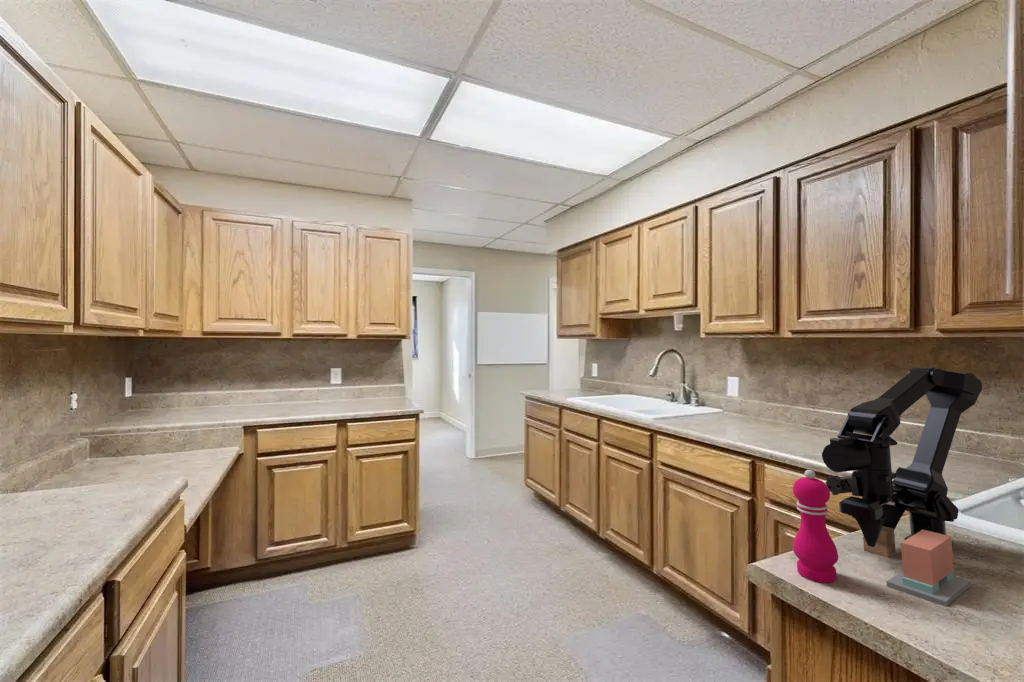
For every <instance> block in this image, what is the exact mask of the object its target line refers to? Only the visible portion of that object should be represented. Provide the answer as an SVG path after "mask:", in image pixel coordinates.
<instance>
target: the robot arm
mask: <svg viewBox="0 0 1024 682" xmlns="http://www.w3.org/2000/svg"><path fill="white" fill-rule="evenodd" d="M982 391H983V383H982V381H981V379H979V378H977V376H976V375H975V374H974V373H971V372H954V371H949V370H945V369H941V368H938V367H935V366H934V367H930V366H929V367H926V366H924V367H921V366H918V367H917V366H915V367H912V368H910V369H909V370H908V372H907V374H906V375H905V376H904V377H902V378H901V379H900V380H898V381H897V382H896V383H895V384H893V385H892V386H891V387H890V388H889V389H887V390H886V391H885V392H884V393H883V394H881V395H879V397H877V398H875V399H873V400H869V401H863V402H862V403H860V404H858V405H856V406H854V407H852V408H851V409H850V410H849V411H848V413H847V416H846V418H845V420H844V422H843V423H842V426H841V428H840V430H839V433H838V434H837V437H830V438H829V444H827V445H825V446H824V448H823V450H822V452H821V457H822V460H823V463H824V464H825V466H826V467H827V469H829V470H830V471H831V472H832V471H833V472H834V473H843V472H850V471H851V475H845V476H839V475H833V476H831V475H830V476H827V477H826V481H825V484H826V485H827V486H828V488H829V491H830V493H831V494H832V496H839V495H840V494H849V493H851V496H848V497H846V498H843V500H842V499H841V501H839V502H838V503H839V512H840V513H841V514H845V515H848V516H851V517H852V518H853V519H854V520H855V521H856V522H857V524H858V526H859V527H860V531H861V533H862V536H863V535H864V538H865V540H866V542H867V545H868V546H871V547H875V545H876V542H877V540H878V537H879V534H880V532H881V529H882V526H885V527H889V528H893V529H894V531H895V530H896V528H897V526H898V524H899V522H900V520H901V518H902V517H903V515H904V513H905V512H908V514H909V515H908V516H909V528H910V534H909V535H908V536H905V537H904V539H903V541H904V540H906V539H908V538H909V537H911V536H913V535H914V534H916V533H918V532H919V531H921V530H927V531H931V532H935V533H939V534H943V535H947V528H946V522H949V523H950V522H951V523H952V522H955V520H958V516H959V508H958V507H957V506H956V504H954V502H953V501H951V499H950V498H949V497H948V490H949V488H948V486H947V483H946V481H945V478H944V477H943V471H944V469H945V465H946V461H947V458H948V455H949V452H950V448H951V447H952V444H953V440H954V437H955V434H956V430H957V427H958V424H959V421H960V418H961V415H962V413H964V412H966V411H967V410H968V409H970V408H971V407H972V406H974V405H975V404H976V402H977V400H978V398H979V396H980V394H981V392H982ZM925 395H926V398H927V400H928V402H929V404H930V408H929V412H928V414H927V417H926V421H925V422H924V426H923V430H922V432H921V435H920V438H919V441H918V445H917V447H916V450H915V454H914V456H913V459H912V462H911V464H910V465H908V466H907V467H906V468H904V467H901V466H899V467H898V468H897V469H896V470H895V472H893V471H892V470H893V469H892V459H891V447H892V446H896V445H898V441H896V440H895V439H894V438H892V437H891V435H892V434H893V433H894V432H895V431H896V429H897V428H898V427H899V426H900V424H901V416H902V414H904V413H905V412H906V411H907V410H908V409H909V408H911V406H913V405H914V404H916V402H917V401H919V400H920V399H921V398H922V397H924V396H925ZM952 545H954V541H953V540H952Z"/></svg>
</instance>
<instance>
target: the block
mask: <svg viewBox="0 0 1024 682" xmlns="http://www.w3.org/2000/svg"><path fill="white" fill-rule="evenodd" d="M895 537H896V536H895V530H894V529H893V528H889V527H885V526H882V529H881V532H880V534H879V537H878V540H877V542H876V545H875V547H871V546H868V545H867V542H866V540H865V538H864V535H863V534H862V538H863V539H862V540H863V550H864V552H866V551H867V552H866V553H869V552H870V553H871V554H872V555H873V554H874V555H876V554H877V555H876V556H879V555H880V557H883V558H887V559H888V558H890V557H891V556H893V555H895V554H896V538H895ZM894 553H895V554H894Z"/></svg>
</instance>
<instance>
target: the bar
mask: <svg viewBox="0 0 1024 682" xmlns="http://www.w3.org/2000/svg"><path fill="white" fill-rule="evenodd" d="M952 541H953V540H952V535H947V534H946V535H943V534H939V533H935V532H931V531H927V530H921V531H919V532H918V533H916V534H914V535H913V536H911V537H909V538H908V539H906V540H904V539H903V541H901V542H900V547H901V559H902V560H901V561H902V564H901V565H902V571H903V577H906V578H910V579H913V580H916V581H919V582H922V583H925V584H928V585H931V586H934V585H935V584H936V583H937V582H939V581H940V580H941V579H943V578H944V577H945V576H946V575H948V574H949V573H950V572H951V571H953V572H954V570H955V568H954V566H955V565H954V554H953V544H952Z"/></svg>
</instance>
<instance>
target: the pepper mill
mask: <svg viewBox="0 0 1024 682" xmlns="http://www.w3.org/2000/svg"><path fill="white" fill-rule="evenodd" d="M792 493H793V495H794V497H795V499H797V502H796V505H797V506H796V509H797V511H798V512H799V513H800V514H799V515H800V525H799V528H798V531H797V532H796V535H795V537H794V539H793V542H792V543H793V544H792V551H793V554H794V555H795V556H796V558H797V559H798V560H796V570H797V573H798V574H799V575H800V576H801V577H803V578H805V579H808V581H809V580H810V581H812V582H813V581H814V582H818V583H826V584H829V583H833V582H835V581H836V580H837V568H836V567H835V566H834V565H835V564H837V562H838V561H839V554H838V553H839V552H838V549H837V547H836V544H835V542H834V541H833V539H832V537H831V535H830V534H829V531H828V528H827V524H826V517H827V516H826V515H828V513H829V510H828V509H829V506H828V504H827V503H828V501H829V500H830V498H831V491H829V488H828V486H827V485H826V482H824V481H823V480H821V479H818V478H816V472H815V471H814V470H811V469H806V470H805V471H804V477H800V478H798V479H796V480H795V481H794V483H793V485H792Z"/></svg>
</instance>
